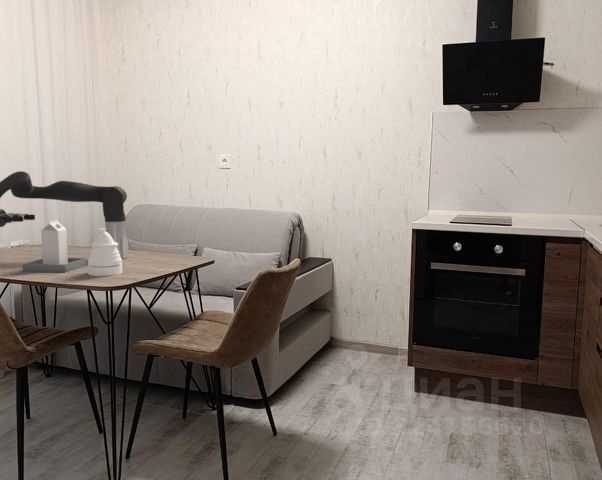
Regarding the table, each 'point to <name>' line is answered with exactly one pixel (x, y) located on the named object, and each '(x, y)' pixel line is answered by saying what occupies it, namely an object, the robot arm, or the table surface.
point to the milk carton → (54, 243)
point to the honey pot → (104, 256)
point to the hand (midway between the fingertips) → (28, 218)
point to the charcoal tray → (54, 265)
